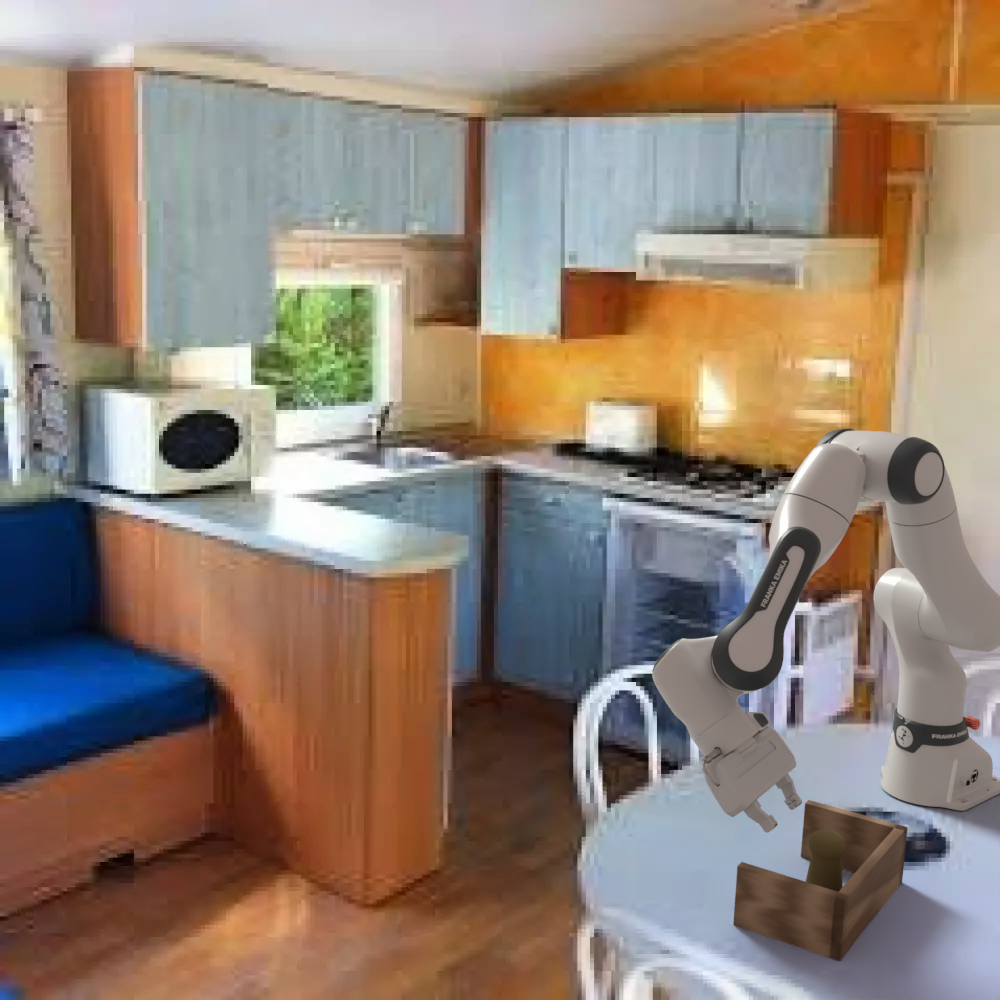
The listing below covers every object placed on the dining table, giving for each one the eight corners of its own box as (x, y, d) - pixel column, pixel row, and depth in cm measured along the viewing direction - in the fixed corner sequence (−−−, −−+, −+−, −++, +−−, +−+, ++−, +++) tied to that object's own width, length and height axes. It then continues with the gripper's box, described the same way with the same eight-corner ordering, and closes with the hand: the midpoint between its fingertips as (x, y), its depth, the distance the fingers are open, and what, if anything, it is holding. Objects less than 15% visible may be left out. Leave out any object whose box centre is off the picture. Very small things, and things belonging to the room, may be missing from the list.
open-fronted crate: (733, 924, 181) (737, 865, 180) (804, 852, 203) (808, 799, 201) (840, 961, 173) (845, 899, 171) (902, 882, 195) (907, 827, 193)
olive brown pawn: (844, 916, 184) (851, 845, 182) (801, 911, 186) (807, 840, 183) (842, 895, 190) (848, 826, 188) (800, 890, 191) (806, 822, 189)
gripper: (712, 750, 183) (772, 833, 179) (769, 709, 199) (825, 784, 196) (682, 771, 186) (740, 853, 182) (741, 729, 202) (795, 804, 199)
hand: (785, 817), depth 189 cm, fingers open, 8 cm apart
